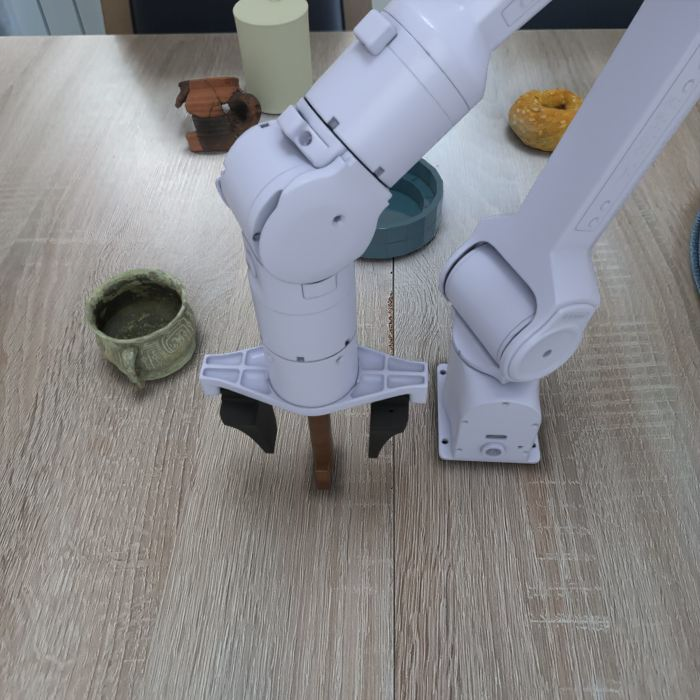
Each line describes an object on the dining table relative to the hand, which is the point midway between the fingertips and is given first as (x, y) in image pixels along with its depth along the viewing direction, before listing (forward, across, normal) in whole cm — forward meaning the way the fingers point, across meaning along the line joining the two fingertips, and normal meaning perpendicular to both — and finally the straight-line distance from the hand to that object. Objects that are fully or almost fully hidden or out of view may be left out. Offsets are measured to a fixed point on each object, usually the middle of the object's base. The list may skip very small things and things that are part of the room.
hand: (322, 444), depth 49 cm
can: (+5, +11, -56) cm, 57 cm away
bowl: (+4, -3, -31) cm, 31 cm away
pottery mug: (+5, +17, -47) cm, 50 cm away
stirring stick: (+4, 0, 0) cm, 4 cm away
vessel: (+5, +17, -12) cm, 21 cm away
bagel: (+1, -67, -64) cm, 93 cm away
